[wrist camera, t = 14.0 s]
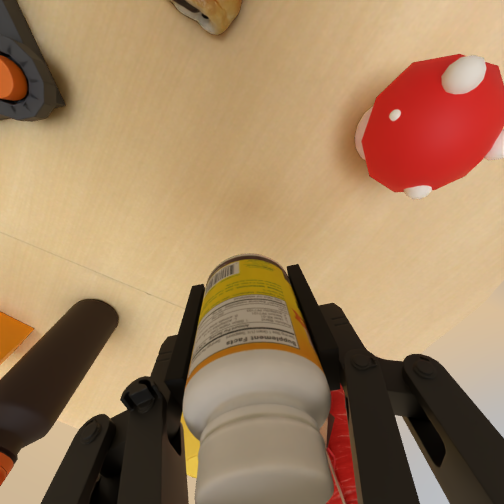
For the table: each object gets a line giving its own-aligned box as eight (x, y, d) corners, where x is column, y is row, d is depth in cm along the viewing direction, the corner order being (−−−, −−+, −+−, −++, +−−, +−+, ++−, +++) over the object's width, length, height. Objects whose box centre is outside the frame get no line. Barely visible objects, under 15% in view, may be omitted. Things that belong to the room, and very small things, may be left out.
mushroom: (418, 174, 29) (526, 196, 18) (332, 188, 29) (389, 217, 18) (437, 70, 24) (599, 14, 13) (334, 86, 24) (413, 45, 13)
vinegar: (118, 301, 34) (-9, 476, 17) (119, 334, 37) (12, 513, 19) (69, 295, 33) (-123, 474, 16) (74, 329, 36) (-83, 513, 18)
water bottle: (273, 356, 42) (315, 604, 20) (310, 335, 40) (404, 581, 18) (305, 387, 47) (370, 616, 24) (340, 370, 45) (444, 599, 23)
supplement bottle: (277, 320, 17) (324, 532, 8) (202, 312, 16) (159, 538, 7) (299, 256, 15) (402, 457, 6) (212, 242, 14) (165, 451, 5)
